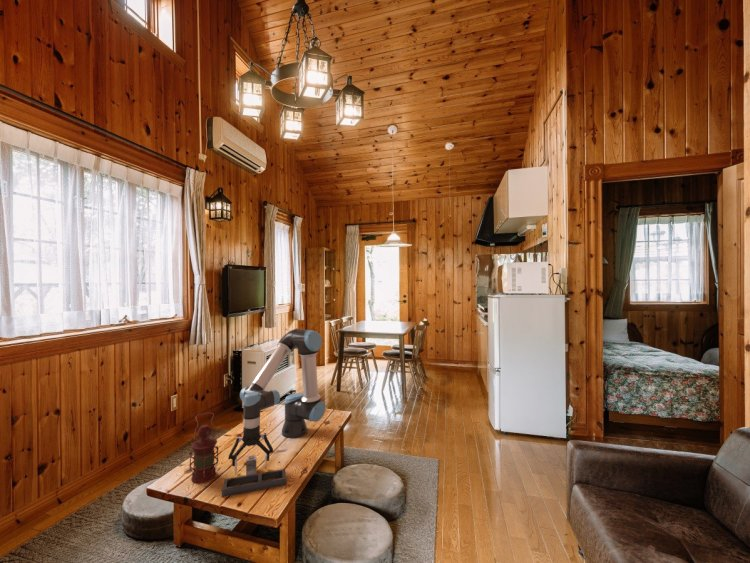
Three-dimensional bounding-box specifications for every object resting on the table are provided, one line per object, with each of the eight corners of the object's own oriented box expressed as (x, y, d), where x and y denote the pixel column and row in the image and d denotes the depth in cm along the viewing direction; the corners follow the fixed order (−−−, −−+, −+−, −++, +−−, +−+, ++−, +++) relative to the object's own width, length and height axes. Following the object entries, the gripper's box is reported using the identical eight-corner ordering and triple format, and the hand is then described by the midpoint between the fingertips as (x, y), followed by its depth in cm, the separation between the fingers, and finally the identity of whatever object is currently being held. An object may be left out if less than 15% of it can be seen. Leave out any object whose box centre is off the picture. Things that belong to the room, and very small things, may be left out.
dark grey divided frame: (284, 475, 157) (285, 468, 157) (286, 485, 149) (286, 478, 149) (224, 486, 148) (224, 479, 148) (222, 497, 140) (222, 490, 141)
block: (256, 469, 162) (256, 454, 162) (256, 474, 158) (256, 458, 158) (246, 470, 161) (246, 455, 161) (246, 475, 157) (246, 460, 157)
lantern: (188, 487, 147) (189, 419, 148) (189, 473, 158) (190, 410, 159) (218, 480, 153) (219, 415, 153) (217, 467, 164) (218, 406, 164)
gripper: (278, 419, 167) (277, 461, 167) (224, 425, 159) (223, 470, 159) (278, 425, 160) (278, 469, 160) (222, 432, 152) (221, 478, 152)
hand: (250, 470), depth 159 cm, fingers open, 13 cm apart
